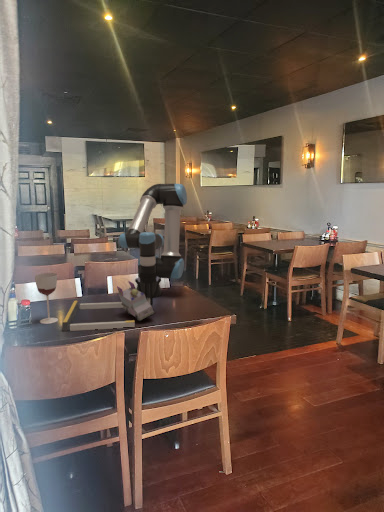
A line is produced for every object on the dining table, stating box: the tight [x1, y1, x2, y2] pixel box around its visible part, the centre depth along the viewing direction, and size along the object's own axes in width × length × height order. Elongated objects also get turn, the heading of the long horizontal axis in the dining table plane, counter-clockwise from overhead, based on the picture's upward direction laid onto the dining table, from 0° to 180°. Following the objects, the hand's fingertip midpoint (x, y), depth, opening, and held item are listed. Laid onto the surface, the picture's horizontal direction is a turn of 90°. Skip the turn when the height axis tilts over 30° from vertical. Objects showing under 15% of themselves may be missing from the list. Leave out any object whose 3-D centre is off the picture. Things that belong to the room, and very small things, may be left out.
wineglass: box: [34, 272, 59, 325], centre depth 176 cm, size 9×10×22 cm
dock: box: [62, 300, 136, 332], centre depth 182 cm, size 31×32×4 cm
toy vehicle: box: [116, 280, 155, 323], centre depth 181 cm, size 9×20×15 cm, turn 32°
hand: (148, 311), depth 185 cm, fingers closed
